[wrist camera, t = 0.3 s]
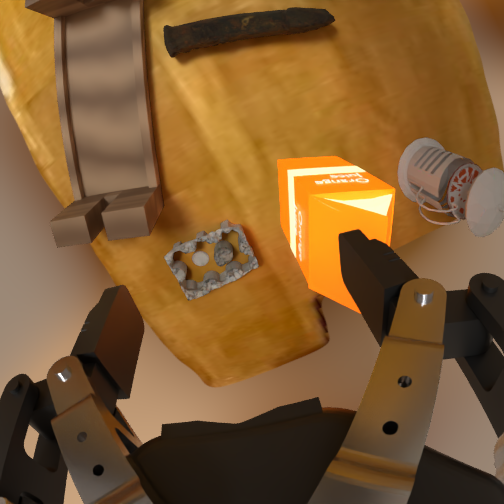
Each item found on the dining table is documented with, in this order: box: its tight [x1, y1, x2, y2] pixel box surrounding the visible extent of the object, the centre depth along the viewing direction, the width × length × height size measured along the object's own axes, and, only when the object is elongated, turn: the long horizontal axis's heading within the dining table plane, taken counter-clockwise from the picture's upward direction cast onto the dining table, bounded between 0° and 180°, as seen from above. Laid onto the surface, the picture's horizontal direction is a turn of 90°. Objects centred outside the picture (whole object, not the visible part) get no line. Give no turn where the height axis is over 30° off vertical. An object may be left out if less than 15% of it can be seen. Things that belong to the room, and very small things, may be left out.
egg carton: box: [164, 220, 259, 300], centre depth 39 cm, size 11×8×4 cm
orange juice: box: [277, 156, 395, 314], centre depth 29 cm, size 8×9×20 cm
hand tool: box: [164, 7, 335, 57], centre depth 27 cm, size 19×4×5 cm, turn 98°
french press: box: [398, 138, 504, 237], centre depth 27 cm, size 10×12×25 cm
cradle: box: [25, 0, 164, 248], centre depth 26 cm, size 30×11×9 cm, turn 4°
